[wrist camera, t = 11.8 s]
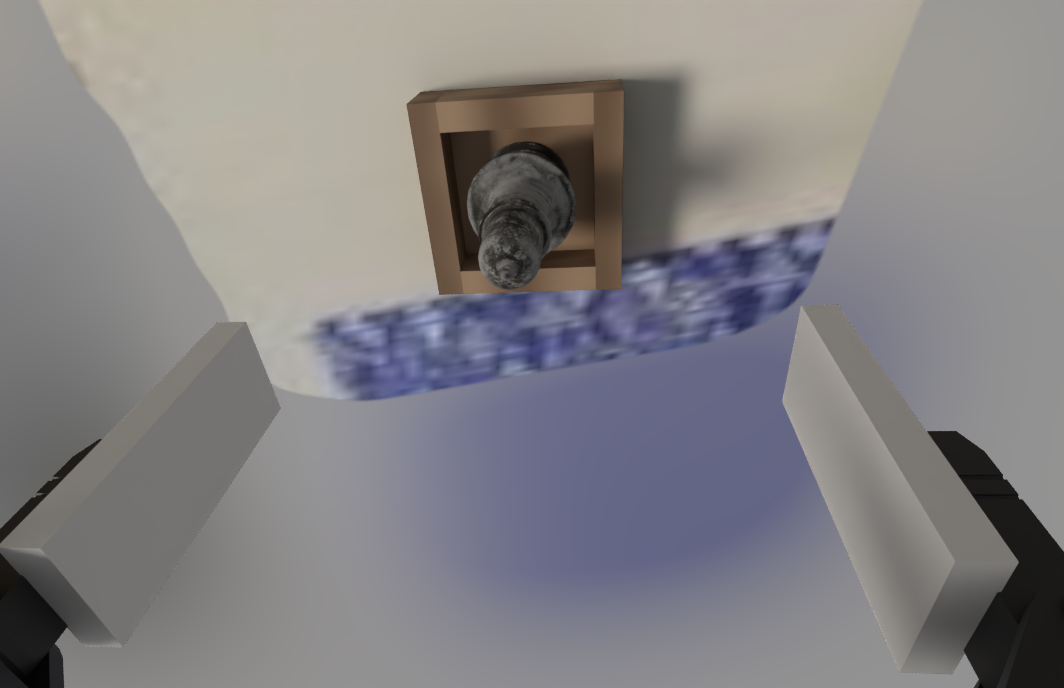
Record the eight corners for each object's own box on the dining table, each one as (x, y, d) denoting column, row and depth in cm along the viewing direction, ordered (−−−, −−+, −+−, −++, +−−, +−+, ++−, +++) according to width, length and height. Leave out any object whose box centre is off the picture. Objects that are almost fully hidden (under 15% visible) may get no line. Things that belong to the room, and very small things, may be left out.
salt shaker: (590, 155, 34) (596, 236, 23) (557, 247, 37) (550, 353, 27) (490, 121, 33) (452, 189, 23) (465, 217, 36) (422, 315, 26)
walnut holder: (619, 79, 32) (624, 90, 29) (617, 264, 38) (621, 288, 35) (420, 92, 33) (406, 104, 30) (449, 270, 39) (439, 294, 36)
